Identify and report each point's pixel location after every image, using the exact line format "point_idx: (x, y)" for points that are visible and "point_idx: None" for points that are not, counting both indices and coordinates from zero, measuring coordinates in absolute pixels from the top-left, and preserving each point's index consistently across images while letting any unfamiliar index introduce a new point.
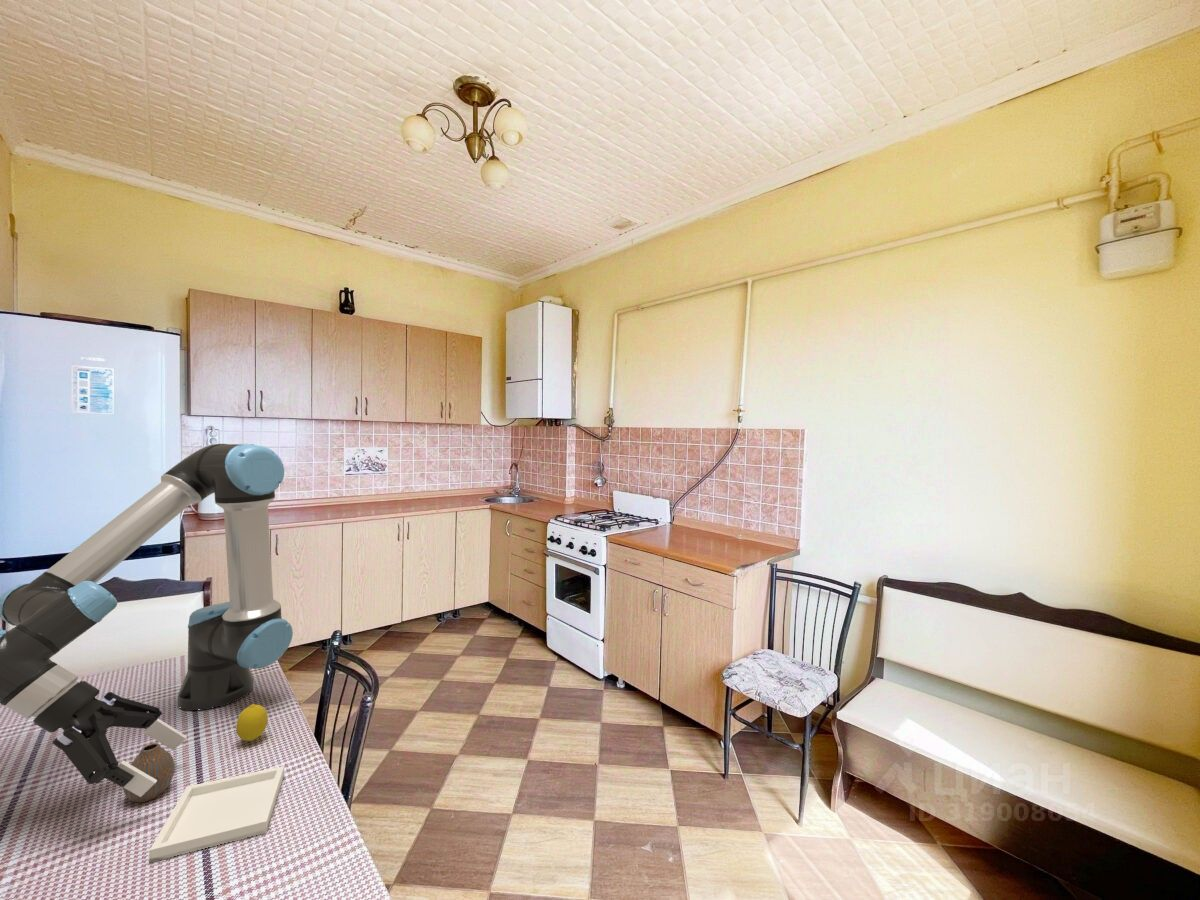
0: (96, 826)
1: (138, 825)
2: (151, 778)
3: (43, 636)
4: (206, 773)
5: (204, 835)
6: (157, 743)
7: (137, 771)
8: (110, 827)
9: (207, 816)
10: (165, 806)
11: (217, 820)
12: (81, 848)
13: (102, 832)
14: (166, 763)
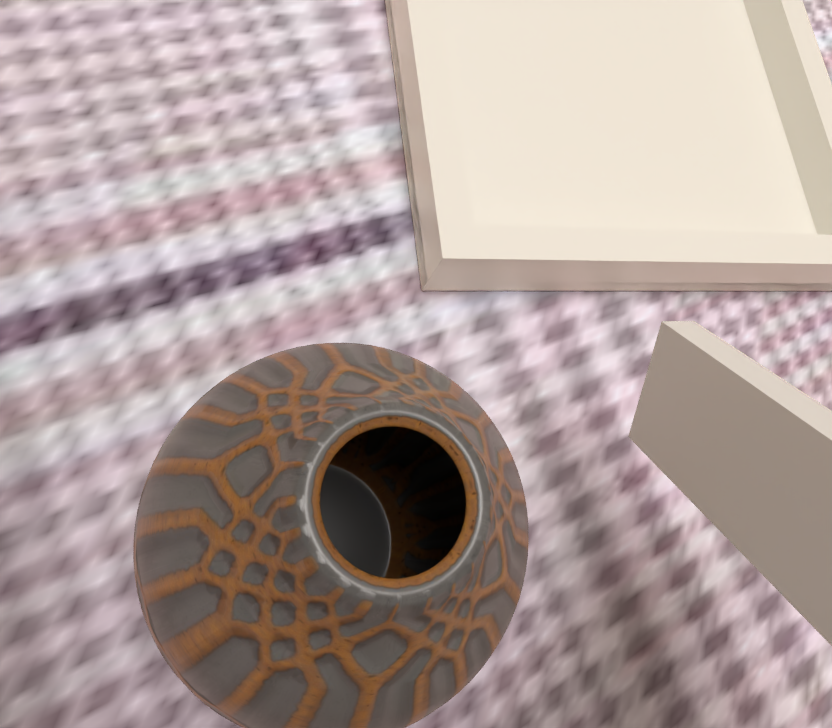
0: (576, 714)
1: (610, 453)
2: (708, 341)
3: None
4: (170, 252)
5: (825, 87)
6: (333, 435)
7: (821, 413)
8: (600, 611)
9: (640, 135)
10: (475, 378)
11: (671, 93)
12: (739, 670)
13: (634, 633)
14: (404, 355)
